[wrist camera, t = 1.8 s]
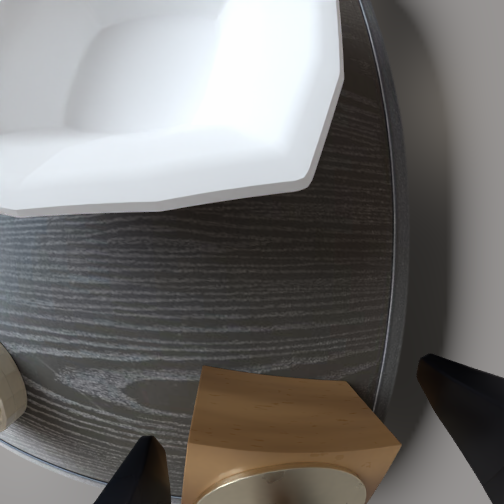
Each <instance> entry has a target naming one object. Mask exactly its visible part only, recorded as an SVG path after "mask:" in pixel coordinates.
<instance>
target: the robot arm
mask: <svg viewBox="0 0 504 504" xmlns="http://www.w3.org/2000/svg"><path fill="white" fill-rule="evenodd" d="M417 379H418V382H419V383H420V385H421V387H422V389H423V391H424V393H425V394H426V396H427V398H428V400H429V402H430V404H431V406H432V408H433V409H434V411H435V413H436V414H437V416H438V417H439V419H440V420H441V422H442V423H443V425H444V426H445V428H446V429H447V431H448V432H449V434H450V435H451V437H452V438H453V440H454V441H455V443H456V444H457V446H458V447H459V449H460V450H461V452H462V453H463V455H464V457H465V458H466V460H467V462H468V463H469V465H470V466H471V468H472V469H473V471H474V473H475V474H476V476H477V478H478V479H479V481H480V483H481V484H482V486H483V488H484V490H485V491H486V493H487V495H488V497H489V498H490V500H491V502H492V503H493V504H504V378H502V377H499V376H496V375H493V374H490V373H487V372H484V371H481V370H478V369H474V368H472V367H468V366H466V365H463V364H460V363H457V362H454V361H451V360H448V359H445V358H442V357H439V356H437V355H434V354H427V355H425V356H423V357H422V358H420V360H419V365H418V370H417ZM94 504H171V492H170V484H169V476H168V469H167V461H166V453H165V450H164V448H163V447H162V446H161V444H160V443H159V442H158V441H157V439H156V438H155V437H154V436H142V437H141V438H140V439H139V440H138V441H137V443H136V444H135V446H134V447H133V449H132V450H131V451H130V453H129V454H128V456H127V457H126V459H125V460H124V461H123V463H122V464H121V466H120V467H119V469H118V470H117V471H116V473H115V474H114V476H113V477H112V478H111V480H110V481H109V483H108V484H107V485H106V487H105V488H104V490H103V491H102V493H101V494H100V495H99V497H98V498H97V500H96V501H95V502H94Z"/></svg>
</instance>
